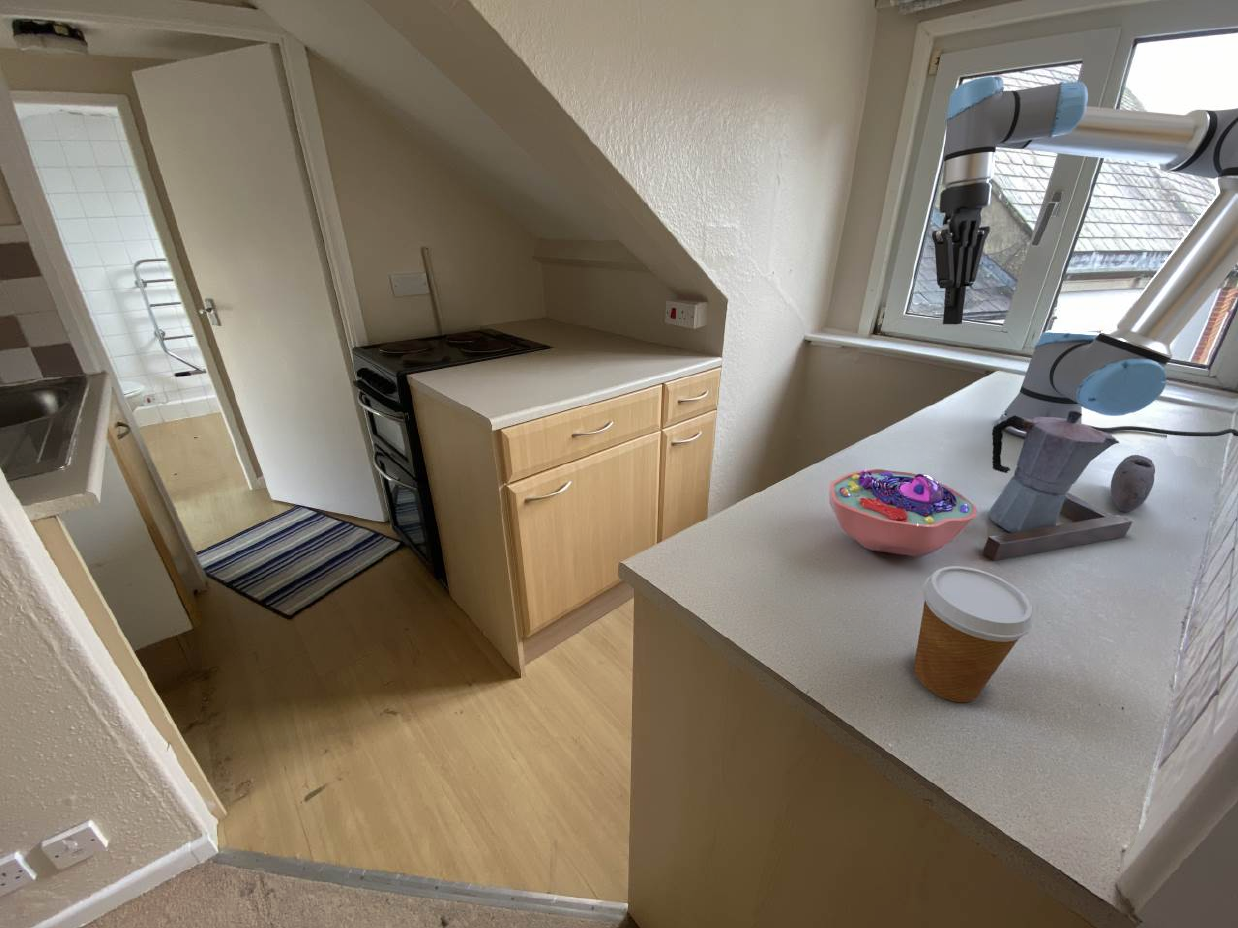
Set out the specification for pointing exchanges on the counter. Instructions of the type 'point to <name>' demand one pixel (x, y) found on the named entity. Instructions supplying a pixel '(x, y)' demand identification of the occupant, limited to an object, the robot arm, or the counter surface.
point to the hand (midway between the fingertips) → (952, 323)
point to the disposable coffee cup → (967, 630)
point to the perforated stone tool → (1132, 482)
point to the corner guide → (1060, 532)
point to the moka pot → (1043, 468)
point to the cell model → (899, 511)
